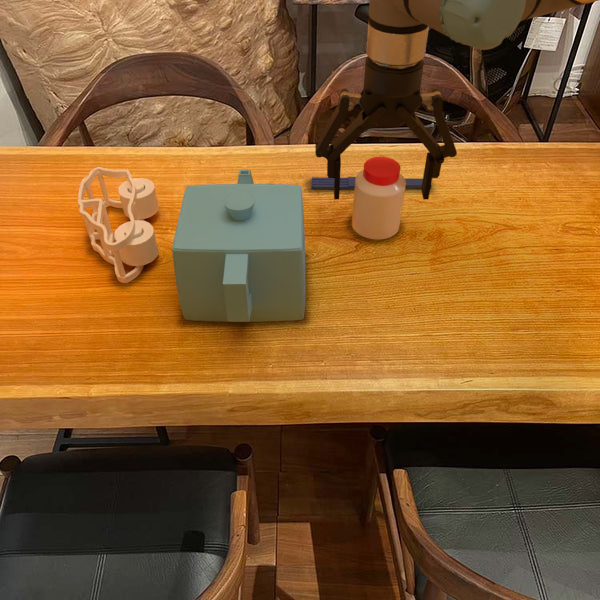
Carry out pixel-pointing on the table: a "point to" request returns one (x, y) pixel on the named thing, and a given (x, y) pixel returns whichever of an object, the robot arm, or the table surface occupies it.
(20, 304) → the table surface
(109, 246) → the wheeled car silhouette
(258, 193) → the container
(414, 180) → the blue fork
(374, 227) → the pill bottle
